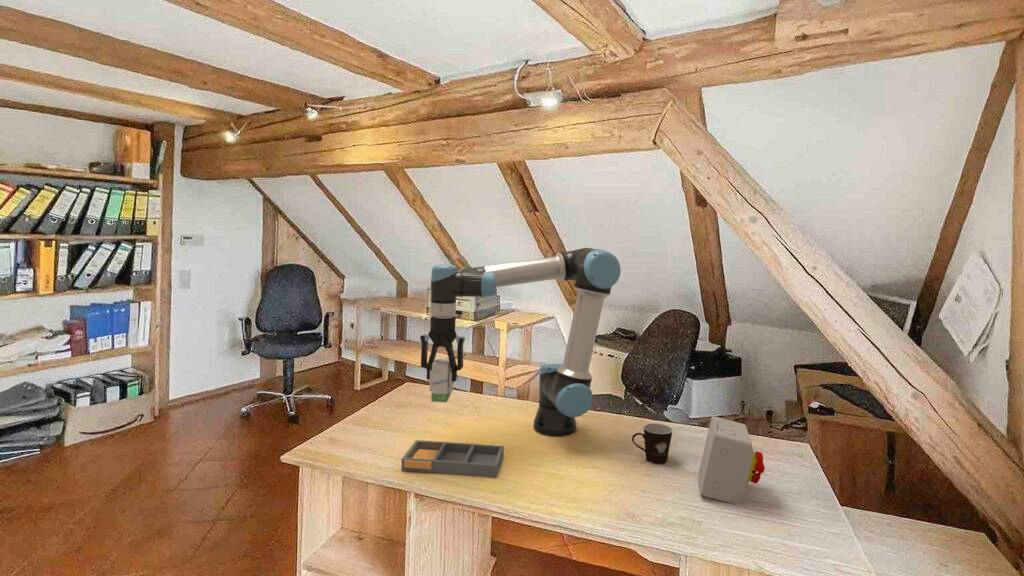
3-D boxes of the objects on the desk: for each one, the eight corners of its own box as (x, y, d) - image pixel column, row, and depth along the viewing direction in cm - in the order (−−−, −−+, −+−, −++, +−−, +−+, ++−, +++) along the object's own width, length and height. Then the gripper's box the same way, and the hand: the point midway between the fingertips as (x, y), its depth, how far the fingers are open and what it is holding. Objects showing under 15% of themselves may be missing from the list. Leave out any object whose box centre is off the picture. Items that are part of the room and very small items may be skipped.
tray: (503, 456, 172) (503, 445, 172) (496, 478, 158) (496, 466, 157) (416, 450, 176) (416, 440, 175) (401, 471, 161) (400, 459, 161)
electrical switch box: (758, 516, 144) (777, 445, 140) (699, 499, 148) (715, 429, 144) (752, 490, 157) (768, 425, 154) (697, 475, 161) (712, 411, 158)
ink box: (436, 393, 175) (436, 356, 174) (452, 394, 175) (452, 357, 173) (430, 402, 166) (430, 363, 165) (447, 402, 166) (447, 364, 165)
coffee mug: (671, 456, 174) (673, 425, 173) (669, 467, 166) (671, 435, 165) (634, 450, 178) (635, 420, 177) (630, 461, 170) (631, 430, 169)
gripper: (409, 316, 165) (408, 392, 168) (470, 320, 162) (467, 396, 165) (417, 312, 172) (416, 384, 175) (475, 315, 170) (473, 389, 173)
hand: (441, 390), depth 170 cm, fingers closed on ink box, 5 cm apart
